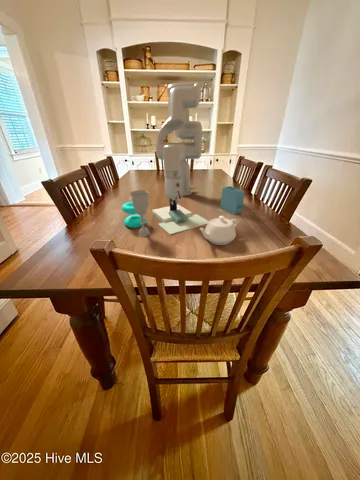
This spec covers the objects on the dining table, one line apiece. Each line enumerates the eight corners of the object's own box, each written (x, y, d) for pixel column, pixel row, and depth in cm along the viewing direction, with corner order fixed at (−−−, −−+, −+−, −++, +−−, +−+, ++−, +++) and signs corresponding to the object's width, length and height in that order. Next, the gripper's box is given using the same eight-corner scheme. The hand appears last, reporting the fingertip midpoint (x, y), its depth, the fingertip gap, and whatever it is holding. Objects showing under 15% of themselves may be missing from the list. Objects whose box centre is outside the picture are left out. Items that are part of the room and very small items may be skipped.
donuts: (120, 208, 85) (122, 201, 93) (124, 229, 90) (125, 220, 98) (144, 207, 86) (143, 199, 95) (146, 227, 91) (145, 219, 100)
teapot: (209, 254, 72) (211, 229, 67) (189, 240, 81) (189, 217, 76) (247, 239, 81) (251, 216, 76) (225, 227, 90) (227, 206, 85)
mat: (196, 214, 104) (196, 214, 103) (210, 223, 95) (210, 222, 94) (158, 224, 94) (157, 223, 94) (169, 234, 85) (169, 233, 85)
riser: (178, 207, 113) (178, 204, 112) (191, 216, 102) (191, 212, 101) (152, 213, 106) (151, 209, 105) (163, 223, 95) (163, 219, 94)
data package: (241, 213, 105) (245, 191, 99) (235, 215, 103) (238, 192, 97) (226, 206, 114) (228, 185, 108) (220, 208, 112) (222, 186, 106)
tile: (179, 212, 101) (179, 209, 100) (188, 220, 95) (188, 217, 94) (168, 214, 99) (168, 211, 98) (176, 222, 92) (176, 219, 92)
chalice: (138, 238, 82) (132, 196, 74) (133, 232, 88) (127, 191, 79) (154, 234, 85) (151, 193, 76) (149, 228, 91) (145, 189, 82)
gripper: (187, 176, 88) (187, 214, 97) (171, 170, 99) (173, 205, 108) (172, 178, 85) (173, 218, 94) (158, 172, 96) (160, 208, 105)
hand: (173, 211), depth 101 cm, fingers closed
